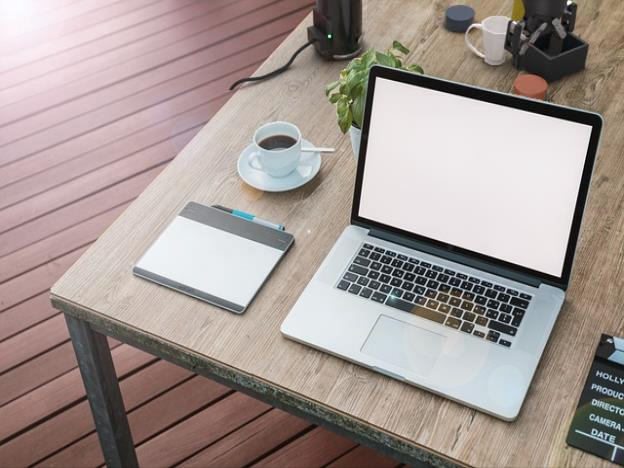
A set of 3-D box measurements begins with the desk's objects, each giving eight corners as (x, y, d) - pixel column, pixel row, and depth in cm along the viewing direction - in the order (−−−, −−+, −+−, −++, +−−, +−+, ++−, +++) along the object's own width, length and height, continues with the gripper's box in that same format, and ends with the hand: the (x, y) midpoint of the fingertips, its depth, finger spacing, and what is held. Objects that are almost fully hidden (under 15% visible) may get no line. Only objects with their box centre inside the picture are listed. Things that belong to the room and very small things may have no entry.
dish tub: (545, 84, 164) (550, 60, 160) (514, 60, 170) (517, 36, 166) (584, 68, 167) (589, 44, 163) (551, 45, 173) (556, 21, 169)
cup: (506, 72, 167) (511, 37, 162) (458, 61, 171) (461, 27, 165) (516, 53, 172) (521, 18, 166) (469, 43, 175) (472, 9, 169)
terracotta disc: (526, 109, 159) (528, 97, 157) (505, 92, 163) (507, 80, 161) (552, 98, 161) (554, 86, 159) (530, 82, 165) (533, 70, 163)
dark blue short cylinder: (455, 34, 178) (456, 23, 176) (438, 21, 181) (439, 10, 179) (479, 26, 180) (480, 14, 178) (462, 13, 183) (463, 1, 181)
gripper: (565, -39, 149) (552, 40, 161) (501, -16, 145) (492, 64, 156) (595, -22, 144) (579, 58, 156) (529, 3, 140) (518, 84, 152)
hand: (535, 61), depth 156 cm, fingers open, 8 cm apart
